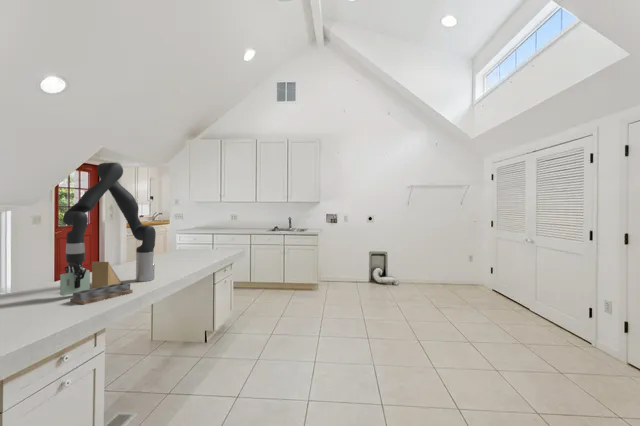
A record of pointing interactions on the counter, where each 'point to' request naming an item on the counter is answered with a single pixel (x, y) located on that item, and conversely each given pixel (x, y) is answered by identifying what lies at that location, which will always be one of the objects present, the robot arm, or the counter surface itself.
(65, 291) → the door panel
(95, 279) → the sandwich container
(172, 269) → the counter surface
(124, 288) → the door track
